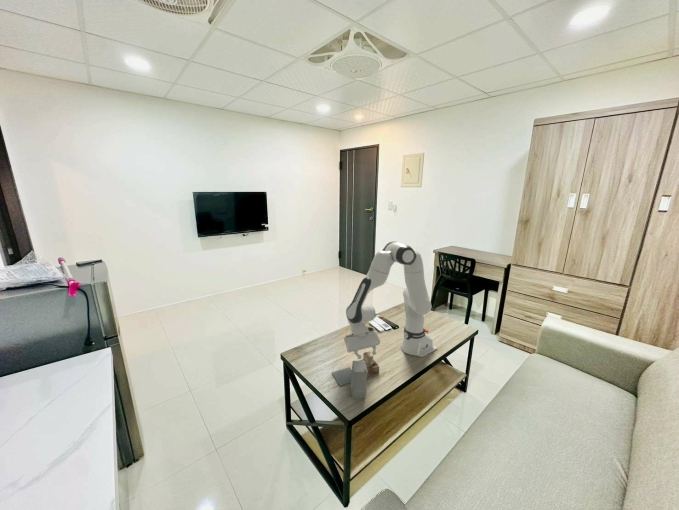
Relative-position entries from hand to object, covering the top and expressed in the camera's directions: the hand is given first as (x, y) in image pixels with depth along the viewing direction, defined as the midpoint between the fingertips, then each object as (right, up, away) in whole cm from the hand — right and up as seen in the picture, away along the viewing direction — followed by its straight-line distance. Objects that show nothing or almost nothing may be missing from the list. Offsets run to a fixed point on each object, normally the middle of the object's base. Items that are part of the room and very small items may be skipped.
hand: (367, 356), depth 149 cm
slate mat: (-12, -9, -4) cm, 16 cm away
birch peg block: (0, -8, +1) cm, 8 cm away
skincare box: (-6, -12, -15) cm, 21 cm away
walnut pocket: (0, -8, +1) cm, 8 cm away
